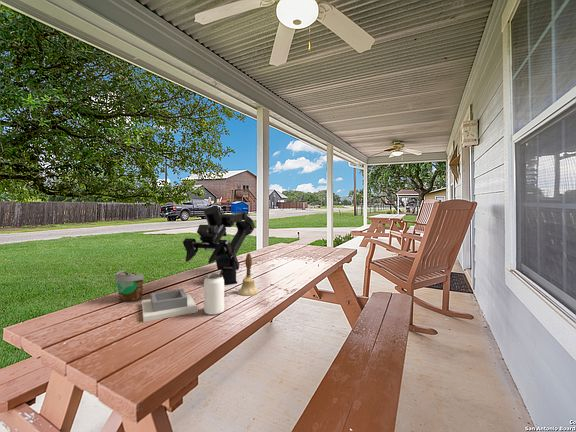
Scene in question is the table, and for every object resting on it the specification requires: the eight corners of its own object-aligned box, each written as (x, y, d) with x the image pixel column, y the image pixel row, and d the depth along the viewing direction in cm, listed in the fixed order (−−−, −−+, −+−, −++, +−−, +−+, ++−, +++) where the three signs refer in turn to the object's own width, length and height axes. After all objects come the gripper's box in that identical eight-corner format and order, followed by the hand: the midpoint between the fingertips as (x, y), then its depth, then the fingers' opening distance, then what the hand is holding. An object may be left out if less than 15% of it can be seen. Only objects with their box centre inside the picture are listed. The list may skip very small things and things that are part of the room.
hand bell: (260, 289, 116) (260, 251, 115) (256, 296, 108) (256, 255, 107) (240, 288, 117) (240, 251, 116) (235, 295, 108) (235, 255, 108)
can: (221, 315, 89) (221, 278, 89) (201, 315, 89) (201, 278, 89) (226, 307, 96) (226, 273, 95) (207, 307, 96) (207, 273, 95)
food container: (107, 299, 103) (107, 273, 102) (124, 294, 108) (123, 269, 108) (128, 305, 97) (127, 277, 96) (144, 300, 102) (144, 273, 102)
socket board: (189, 297, 106) (189, 285, 105) (197, 312, 92) (197, 298, 92) (142, 304, 98) (141, 292, 98) (143, 322, 84) (143, 307, 84)
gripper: (188, 218, 110) (166, 244, 98) (231, 219, 106) (214, 246, 93) (196, 239, 116) (177, 266, 104) (238, 241, 112) (223, 269, 100)
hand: (197, 261), depth 100 cm, fingers open, 9 cm apart
